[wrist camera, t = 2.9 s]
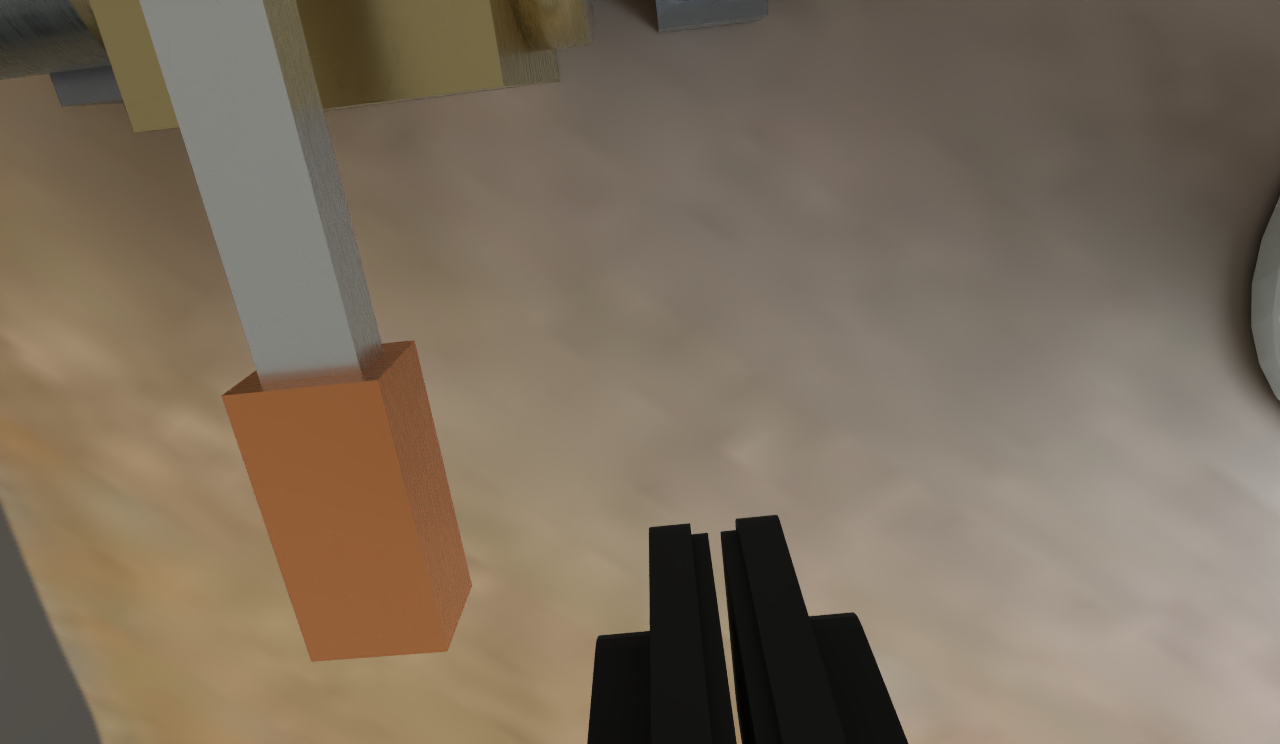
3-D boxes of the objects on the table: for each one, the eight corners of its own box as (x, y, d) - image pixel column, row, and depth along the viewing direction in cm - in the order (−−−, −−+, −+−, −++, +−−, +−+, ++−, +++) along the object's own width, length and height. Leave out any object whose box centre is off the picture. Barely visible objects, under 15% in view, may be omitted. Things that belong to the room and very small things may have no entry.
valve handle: (92, -231, 10) (-20, -289, 9) (280, -261, 10) (204, -327, 8) (345, 595, 15) (306, 661, 13) (476, 585, 15) (452, 650, 13)
